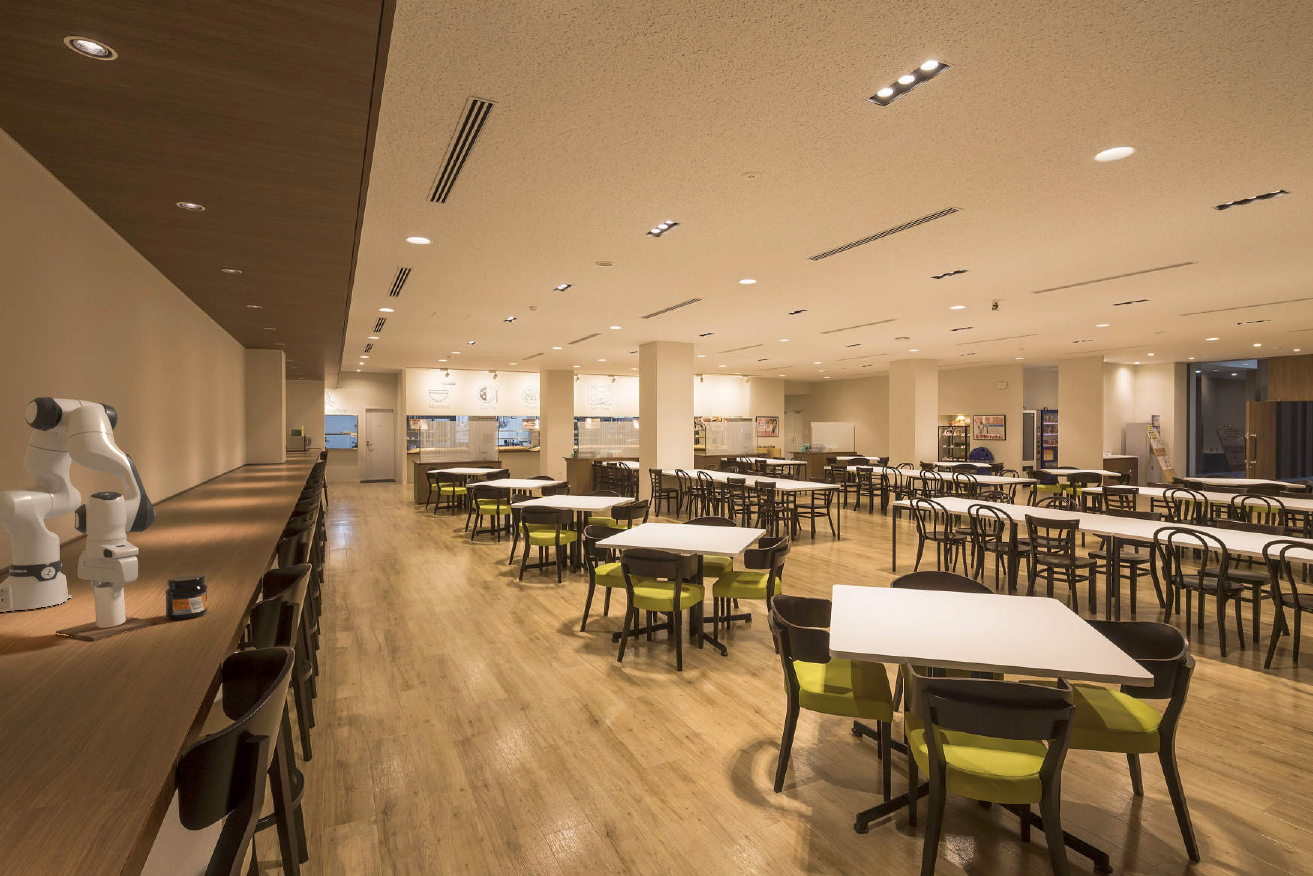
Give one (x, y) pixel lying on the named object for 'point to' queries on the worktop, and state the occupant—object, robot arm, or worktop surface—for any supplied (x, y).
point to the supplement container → (186, 597)
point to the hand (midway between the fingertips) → (107, 596)
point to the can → (108, 606)
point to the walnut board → (104, 629)
